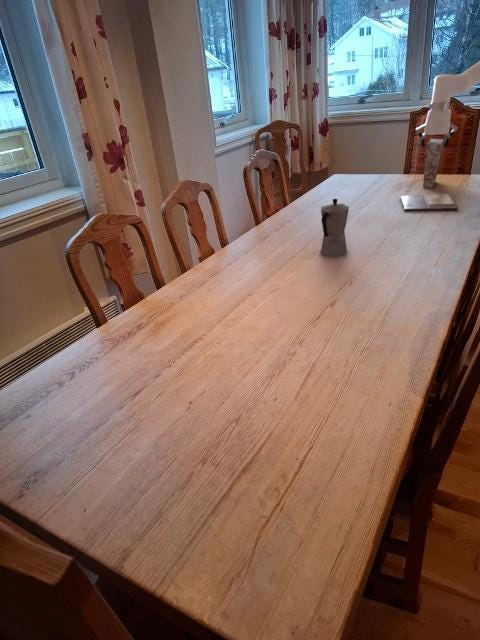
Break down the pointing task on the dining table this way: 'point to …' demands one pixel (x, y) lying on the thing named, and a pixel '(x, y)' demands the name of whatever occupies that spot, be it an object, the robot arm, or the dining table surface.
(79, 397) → the dining table surface
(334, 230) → the coffeepot
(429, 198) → the board
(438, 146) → the stone block
